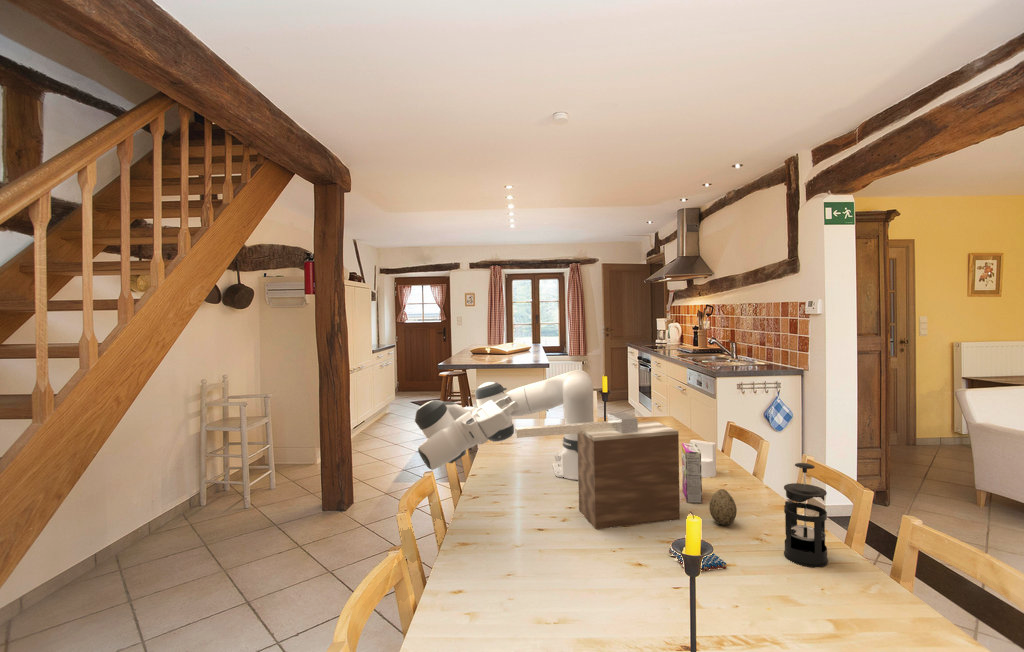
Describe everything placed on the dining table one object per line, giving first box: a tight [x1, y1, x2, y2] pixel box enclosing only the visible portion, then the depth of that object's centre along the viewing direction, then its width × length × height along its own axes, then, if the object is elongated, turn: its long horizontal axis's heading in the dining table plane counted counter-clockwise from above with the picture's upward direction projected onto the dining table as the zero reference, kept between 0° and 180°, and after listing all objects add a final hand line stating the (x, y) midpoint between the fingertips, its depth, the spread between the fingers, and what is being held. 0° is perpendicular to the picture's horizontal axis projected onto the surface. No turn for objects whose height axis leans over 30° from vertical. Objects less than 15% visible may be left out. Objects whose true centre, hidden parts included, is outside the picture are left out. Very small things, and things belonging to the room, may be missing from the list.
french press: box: [783, 462, 829, 569], centre depth 123 cm, size 12×9×23 cm
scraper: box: [514, 411, 638, 439], centre depth 147 cm, size 10×35×4 cm, turn 102°
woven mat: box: [668, 547, 728, 572], centre depth 122 cm, size 10×11×2 cm
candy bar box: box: [680, 442, 703, 504], centre depth 164 cm, size 11×5×16 cm, turn 168°
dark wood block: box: [577, 420, 681, 530], centre depth 151 cm, size 14×26×26 cm, turn 102°
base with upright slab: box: [689, 439, 717, 479], centre depth 187 cm, size 9×9×12 cm
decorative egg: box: [709, 488, 738, 526], centre depth 143 cm, size 7×7×10 cm
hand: (513, 400), depth 143 cm, fingers open, 8 cm apart
